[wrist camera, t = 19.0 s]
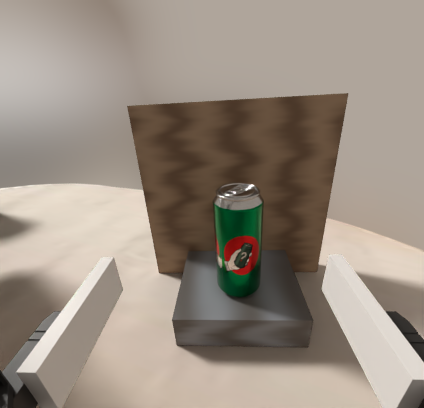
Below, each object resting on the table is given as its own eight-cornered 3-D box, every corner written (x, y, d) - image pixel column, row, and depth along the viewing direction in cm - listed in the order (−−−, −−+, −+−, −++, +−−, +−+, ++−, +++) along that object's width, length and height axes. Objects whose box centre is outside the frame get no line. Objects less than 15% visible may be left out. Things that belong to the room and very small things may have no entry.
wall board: (132, 344, 25) (61, 111, 15) (162, 264, 38) (133, 105, 28) (357, 347, 24) (442, 89, 14) (312, 262, 36) (339, 93, 26)
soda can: (268, 283, 27) (274, 188, 22) (240, 308, 24) (239, 205, 19) (237, 264, 31) (236, 178, 26) (208, 283, 28) (201, 191, 23)
